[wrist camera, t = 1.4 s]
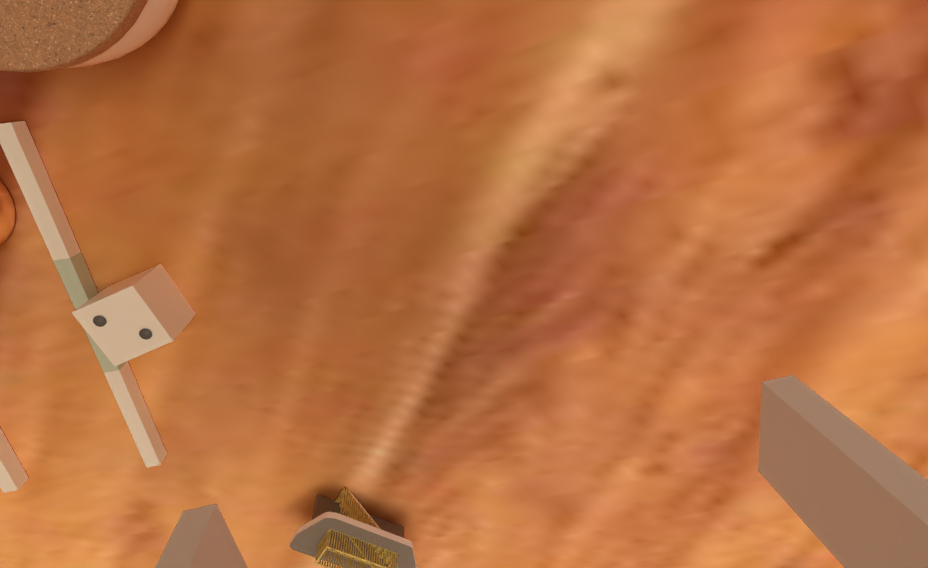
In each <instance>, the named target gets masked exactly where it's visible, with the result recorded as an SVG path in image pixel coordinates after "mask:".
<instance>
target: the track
mask: <svg viewBox="0 0 928 568" xmlns="http://www.w3.org/2000/svg"><path fill="white" fill-rule="evenodd" d="M0 144H1V146H2V149H3V151H4V153H5V155H6V157H7V160H8V162H9V164H10V166H11V168H12V171H13V173H14V175H15V177H16V180H17V182H18V184H19V186H20V188H21V191H22V193H23V195H24V197H25V199H26V202H27V204H28V206H29V208H30V211H31V213H32V215H33V217H34V219H35V222H36V224H37V226H38V228H39V231H40V233H41V235H42V237H43V239H44V242H45V244H46V246H47V248H48V250H49V253H50V255H51V257H52V259H53V262H54V264H55V266H56V268H57V270H58V273H59V275H60V277H61V279H62V281H63V284H64V286H65V288H66V290H67V293H68V295H69V297H70V299H71V301H72V304H73V306H74V308H75V310H76V309H77V308H78V307H80V306H81V305H83V304H84V303H85V302H87V301H88V300H90V299H91V298H92V297H94V296H95V295H97V294H98V291H97V288H96V286H95V284H94V281H93V279H92V277H91V274H90V272H89V270H88V267H87V265H86V263H85V260H84V258H83V256H82V253H81V251H80V249H79V246H78V244H77V242H76V239H75V237H74V235H73V232H72V230H71V227H70V225H69V223H68V220H67V218H66V216H65V213H64V211H63V209H62V206H61V204H60V202H59V199H58V197H57V195H56V192H55V190H54V188H53V185H52V183H51V181H50V178H49V176H48V174H47V171H46V169H45V167H44V164H43V162H42V160H41V157H40V155H39V153H38V150H37V148H36V146H35V143H34V141H33V139H32V136H31V134H30V132H29V129H28V127H27V125H26V122H25V121H18V122H10V123H3V124H0ZM84 330H85V329H84ZM85 332H86V330H85ZM86 335H87V337H88V339H89V341H90V343H91V346H92V348H93V350H94V352H95V355H96V357H97V359H98V361H99V363H100V366H101V368H102V370H103V372H104V375H105V377H106V379H107V381H108V383H109V386H110V388H111V390H112V392H113V394H114V397H115V399H116V401H117V403H118V406H119V408H120V410H121V412H122V414H123V417H124V419H125V421H126V423H127V425H128V428H129V430H130V432H131V434H132V437H133V439H134V441H135V443H136V445H137V448H138V450H139V452H140V454H141V456H142V459H143V461H144V463H145V465H146V467H152V466H157V465H161V463H162V462H163V460H164V459H165V457H166V455H167V452H166V450H165V447H164V445H163V443H162V440H161V438H160V436H159V433H158V431H157V429H156V426H155V424H154V422H153V419H152V417H151V415H150V412H149V410H148V408H147V405H146V403H145V401H144V398H143V396H142V394H141V391H140V389H139V387H138V384H137V382H136V380H135V377H134V375H133V373H132V370H131V368H130V366H129V363H128V361H126V362H124V363H122V364H120V365H117V366H114V365H113V364H112V363H111V361H110V360H109V359H108V358H107V356H106V355H105V354H104V353H103V351H102V350H101V349H100V348H99V346H98V345H97V344H96V343H95V342H94V340H93V339H92V338H91V337H90V335H89V334H88V333H87V332H86ZM28 479H29V478H28V476H27V474H26V472H25V470H24V469H23V467H22V465H21V463H20V462H19V460H18V458H17V456H16V454H15V453H14V451H13V449H12V447H11V446H10V444H9V442H8V440H7V438H6V437H5V435H4V433H3V431H2V430H1V428H0V488H1V489H2V491H3V493H5V492H10V491H16V490H19V488H20V487H21V486H22V485H23V484H24V483H25V482H26V481H27V480H28Z"/></svg>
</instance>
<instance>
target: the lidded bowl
mask: <svg viewBox="0 0 928 568" xmlns="http://www.w3.org/2000/svg"><path fill="white" fill-rule="evenodd" d="M177 3H178V0H0V71H11V72H41V71H52V70H60V69H65V68H76V67H86V66H91V65H95V64H99V63H103V62H106V61H110V60H114V59H117V58H120V57H122V56H124V55H126V54H128V53H130V52H132V51H134V50H136V49H137V48H139V47H141V46H142V45H144V44H145V43H146V42H147V41H149V40H150V39H151V38H153V37H154V36H155V35H156V34H157V33H158V32H159V31H160V30H161V29H162V27H163V26H164V25H165V24H166V23H167V21H168V20H169V18H170V16H171V15H172V13H173V11H174V10H175V8H176V6H177Z"/></svg>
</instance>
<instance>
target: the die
mask: <svg viewBox="0 0 928 568" xmlns="http://www.w3.org/2000/svg"><path fill="white" fill-rule="evenodd" d="M72 314H73V315H74V317H75V318H76V319H77V320H78V322H79V323H80V324H81V325H82V327H83V328H84V329H85V330H86V332H87V333H88V334H89V335H90V337H91V338H92V339H93V340H94V342H95V343H96V344H97V345H98V346H99V348H100V349H101V350H102V351H103V353H104V354H105V355H106V356H107V358H108V359H109V360H110V361H111V363H112V364H113V365H114V366H117V365H120V364H122V363H124V362H126V361H129V360H131V359H133V358H136V357H138V356H140V355H143V354H145V353H147V352H149V351H152V350H154V349H156V348H159V347H161V346H163V345H166V344H168V343H170V342H172V341H174V340H175V338H176V337H177V336H178V335H179V334H180V333H181V331H182V330H183V329H184V328H185V327H186V326H187V324H188V323H189V322H190V321H191V320H192V319H193V317H194V316H195V315H196V313H195V312H194V310H193V309H192V307H191V306H190V305H189V303H188V302H187V300H186V299H185V297H184V296H183V295H182V293H181V292H180V290H179V289H178V287H177V286H176V284H175V283H174V282H173V280H172V279H171V277H170V276H169V274H168V273H167V271H166V270H165V269H164V267H163V266H162V264H158V265H156V266H154V267H152V268H149V269H147V270H145V271H143V272H140V273H138V274H136V275H134V276H131V277H129V278H127V279H124V280H122V281H120V282H118V283H115V284H113V285H111V286H109V287H106V288H105V289H103V290H102V291H101V292H99V293H98V294H97V295H95V296H94V297H92V298H91V299H90V300H88V301H87V302H85V303H84V304H83V305H81V306H80V307H78V308H77V309H76V310H74V311H73V312H72Z"/></svg>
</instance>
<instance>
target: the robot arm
mask: <svg viewBox="0 0 928 568" xmlns="http://www.w3.org/2000/svg"><path fill="white" fill-rule="evenodd" d="M758 471H759V472H760V473H761V474H762V476H763V477H764V478H765V479H766V480H767V481H768V482H769V483H770V485H771V486H772V487H773V488H774V489H775V490H776V491H777V492H778V494H779V495H780V496H781V497H782V498H783V499H784V500H785V501H786V503H787V504H788V505H789V506H790V507H791V508H792V509H793V510H794V511H795V513H796V514H797V515H798V516H799V517H800V518H801V519H802V520H803V522H804V523H805V524H806V525H807V526H808V527H809V528H810V529H811V531H812V532H813V533H814V534H815V535H816V536H817V537H818V538H819V540H820V541H821V542H822V543H823V544H824V545H825V546H826V547H827V549H828V550H829V551H830V552H831V553H832V554H833V555H834V556H835V558H836V559H837V560H838V561H839V562H840V563H841V564H842V565H843V567H844V568H928V480H927V479H926V478H924V477H923V476H922V475H921V474H919V473H918V472H917V471H915V470H914V469H913V468H912V467H910V466H909V465H908V464H906V463H905V462H904V461H903V460H901V459H900V458H899V457H897V456H896V455H895V454H894V453H892V452H891V451H890V450H888V449H887V448H886V447H885V446H883V445H882V444H881V443H879V442H878V441H877V440H876V439H874V438H873V437H872V436H870V435H869V434H868V433H867V432H865V431H864V430H863V429H861V428H860V427H859V426H858V425H856V424H855V423H854V422H852V421H851V420H850V419H849V418H847V417H846V416H845V415H844V414H842V413H841V412H840V411H838V410H837V409H836V408H835V407H833V406H832V405H831V404H829V403H828V402H827V401H826V400H824V399H823V398H822V397H820V396H819V395H818V394H817V393H815V392H814V391H813V390H811V389H810V388H809V387H808V386H806V385H805V384H804V383H802V382H801V381H800V380H799V379H797V378H796V377H795V376H793V375H791V376H786V377H782V378H777V379H773V380H768V381H764V382H762V394H761V418H760V442H759V467H758ZM155 568H247V566H246V564H245V562H244V559H243V557H242V555H241V553H240V551H239V549H238V547H237V545H236V543H235V541H234V539H233V537H232V535H231V533H230V531H229V529H228V526H227V524H226V522H225V520H224V518H223V516H222V514H221V512H220V510H219V508H218V506H217V504H213V505H208V506H204V507H199V508H195V509H190V510H186V511H183V513H182V515H181V517H180V519H179V521H178V523H177V525H176V527H175V529H174V531H173V533H172V535H171V537H170V539H169V541H168V543H167V545H166V547H165V549H164V551H163V553H162V555H161V557H160V559H159V561H158V563H157V565H156V567H155Z"/></svg>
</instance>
